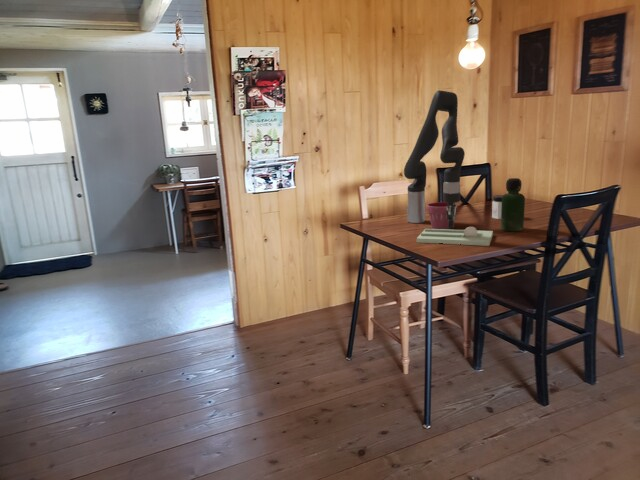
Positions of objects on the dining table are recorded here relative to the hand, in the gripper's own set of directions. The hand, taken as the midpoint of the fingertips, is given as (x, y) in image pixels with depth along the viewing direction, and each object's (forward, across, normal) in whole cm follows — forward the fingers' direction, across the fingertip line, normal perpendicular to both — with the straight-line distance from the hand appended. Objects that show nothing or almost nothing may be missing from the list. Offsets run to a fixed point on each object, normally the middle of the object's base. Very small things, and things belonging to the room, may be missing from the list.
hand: (451, 227), depth 221 cm
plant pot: (+6, -20, -8) cm, 22 cm away
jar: (+6, -51, +19) cm, 55 cm away
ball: (+2, 0, +9) cm, 9 cm away
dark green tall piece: (+5, -23, +26) cm, 35 cm away
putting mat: (+5, 0, +2) cm, 6 cm away
